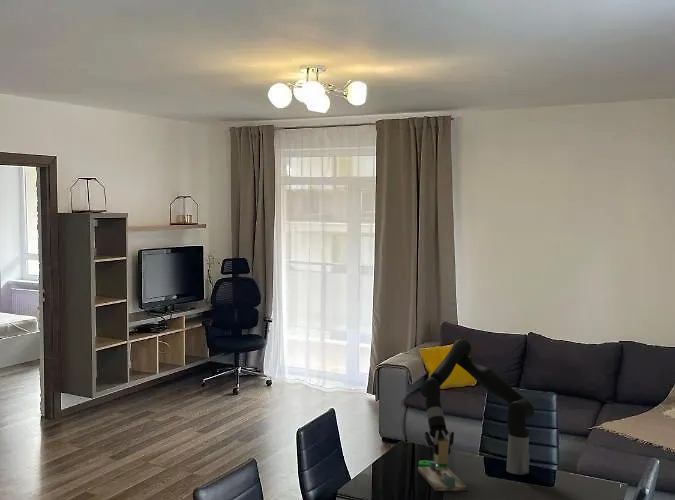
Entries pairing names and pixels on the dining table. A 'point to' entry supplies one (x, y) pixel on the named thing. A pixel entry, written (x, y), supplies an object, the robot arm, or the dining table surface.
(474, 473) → the dining table surface
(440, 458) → the tan square-topped block
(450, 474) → the board
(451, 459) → the dining table surface
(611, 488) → the dining table surface
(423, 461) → the mechanical part
